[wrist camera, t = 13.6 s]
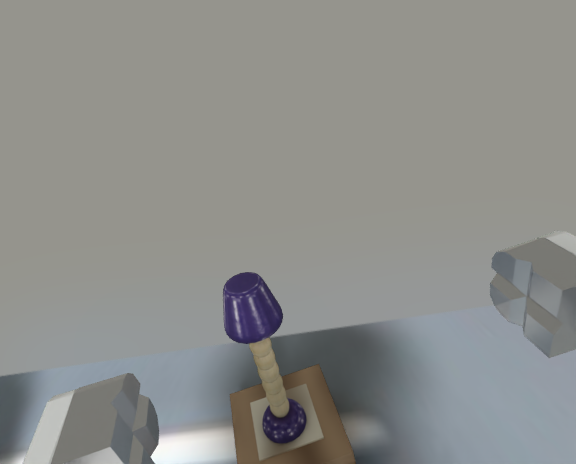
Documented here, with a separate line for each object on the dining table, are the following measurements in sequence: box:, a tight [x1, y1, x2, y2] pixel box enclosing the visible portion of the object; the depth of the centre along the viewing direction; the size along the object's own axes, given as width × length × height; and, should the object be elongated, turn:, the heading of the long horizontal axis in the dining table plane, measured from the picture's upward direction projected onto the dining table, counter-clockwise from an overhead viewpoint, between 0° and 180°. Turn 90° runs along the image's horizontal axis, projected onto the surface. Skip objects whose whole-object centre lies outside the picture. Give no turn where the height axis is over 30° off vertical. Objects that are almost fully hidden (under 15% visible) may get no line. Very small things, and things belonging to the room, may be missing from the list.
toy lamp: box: [223, 272, 307, 444], centre depth 32 cm, size 5×5×17 cm
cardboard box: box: [230, 364, 356, 464], centre depth 37 cm, size 10×10×5 cm
